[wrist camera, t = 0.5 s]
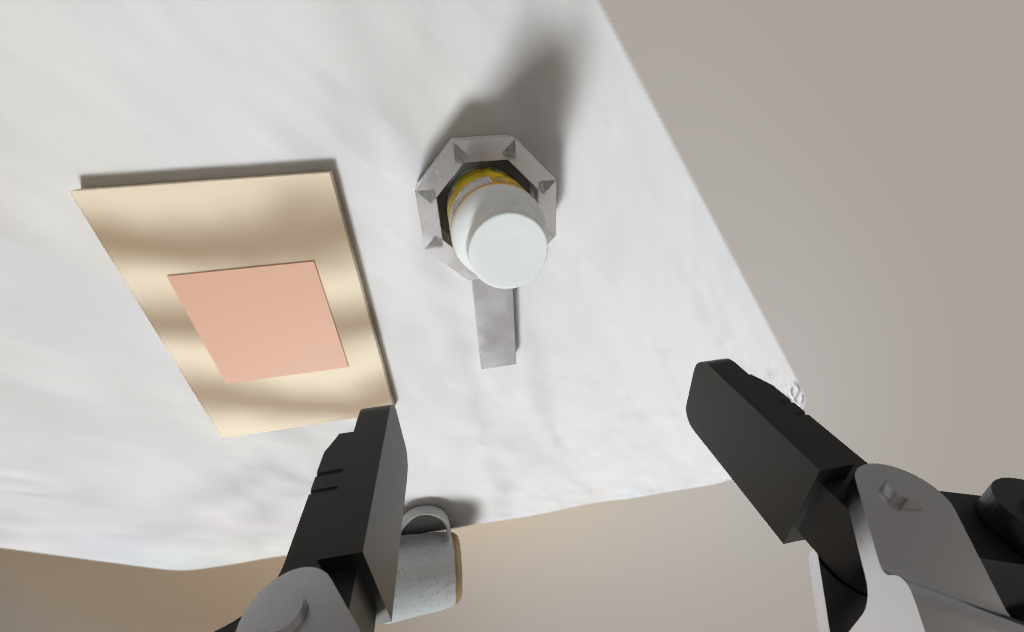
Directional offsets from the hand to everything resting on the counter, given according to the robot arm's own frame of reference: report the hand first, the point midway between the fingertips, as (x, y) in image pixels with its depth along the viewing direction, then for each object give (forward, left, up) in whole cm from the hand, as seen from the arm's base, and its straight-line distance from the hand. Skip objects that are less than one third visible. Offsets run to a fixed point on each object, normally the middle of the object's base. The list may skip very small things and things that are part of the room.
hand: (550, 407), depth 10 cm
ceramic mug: (+36, -10, -20) cm, 43 cm away
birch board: (+6, -16, -20) cm, 26 cm away
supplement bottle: (-1, +1, -20) cm, 20 cm away
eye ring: (+4, +1, -20) cm, 20 cm away
